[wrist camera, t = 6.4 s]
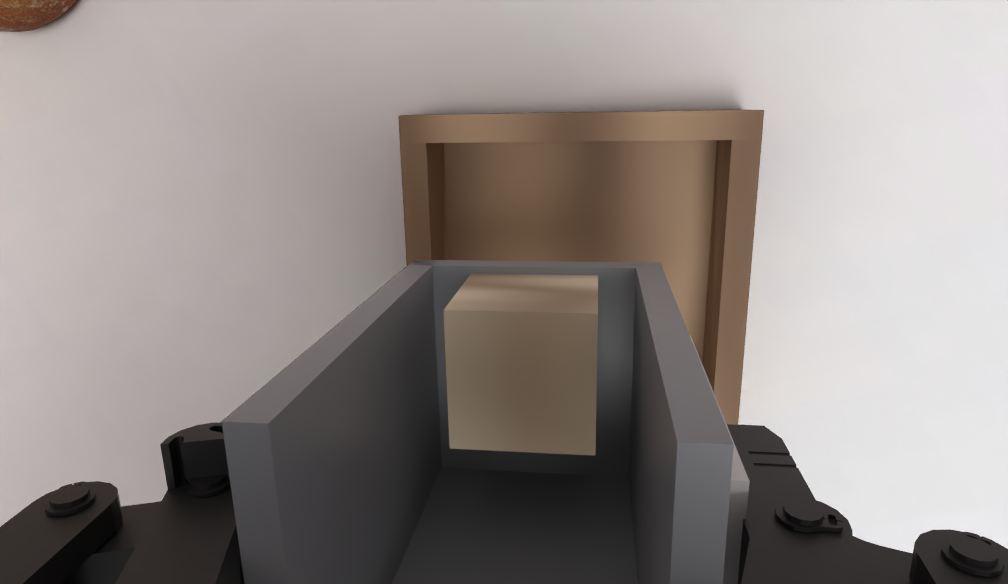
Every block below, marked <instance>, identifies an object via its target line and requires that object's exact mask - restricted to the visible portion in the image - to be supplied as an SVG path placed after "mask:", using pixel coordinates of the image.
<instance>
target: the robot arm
mask: <svg viewBox="0 0 1008 584" xmlns="http://www.w3.org/2000/svg"><path fill="white" fill-rule="evenodd" d="M690 337H691V335H690ZM691 340H692V338H691ZM692 342H693V340H692ZM693 345H694V343H693ZM694 347H695V345H694ZM695 350H696V348H695ZM696 352H697V350H696ZM697 355H698V353H697ZM698 357H699V355H698ZM699 360H700V358H699ZM700 362H701V360H700ZM701 365H702V363H701ZM702 367H703V365H702ZM703 370H704V367H703ZM704 372H705V370H704ZM705 375H706V372H705ZM706 377H707V375H706ZM707 380H708V377H707ZM708 382H709V380H708ZM709 385H710V382H709ZM710 387H711V385H710ZM711 390H712V387H711ZM712 392H713V390H712ZM713 395H714V392H713ZM714 397H715V395H714ZM715 400H716V397H715ZM716 402H717V400H716ZM717 405H718V402H717ZM718 407H719V405H718ZM719 410H720V412H721V409H720V407H719ZM721 414H722V412H721ZM722 417H723V414H722ZM723 419H724V417H723ZM724 422H725V419H724ZM725 424H726V422H725ZM726 427H727V429H728V432H729V434H730V437H731V439H732V442H733V444H734V448H733V460H732V473H731V486H730V498H729V511H728V524H727V536H726V549H725V562H724V575H723V584H1008V549H1007V548H1005V547H1003V546H1001V545H999V544H998V543H996V542H994V541H992V540H990V539H988V538H985V537H983V536H982V537H980V536H979V535H977V534H973V533H969V532H960V531H955V530H931V531H929V532H926V533H923V534H920V536H919V537H918V539H917V540H916V542H915V545H914V551H913V554H912V553H908V552H903V551H899V550H895V549H891V548H887V547H883V546H879V545H876V544H872V543H869V542H866V541H863V540H861V539H858V538H856V537H854V536H852V529H851V526H850V524H849V522H848V520H847V519H846V518H845V517H844V516H843V515H842V514H841V513H840V512H838V511H837V510H836V509H834V508H832V507H830V506H828V505H826V504H824V503H822V502H819V501H816V500H815V498H814V496H813V494H812V493H811V491H810V489H809V487H808V485H807V484H806V482H805V480H804V478H803V476H802V475H801V473H800V471H799V469H798V468H796V464H795V462H794V460H793V458H792V456H790V453H789V451H788V449H787V447H786V446H785V444H784V442H783V440H782V439H781V438H780V437H779V436H777V435H776V434H774V433H773V432H772V431H770V430H769V429H767V428H766V427H765V426H755V425H731V424H726ZM161 451H162V456H163V462H164V468H165V474H166V480H167V486H168V491H167V492H166V494H165V496H164V498H163V500H162V501H161V502H155V503H147V504H139V505H131V506H123V507H121V506H120V501H119V496H118V490H117V488H116V487H115V486H113V485H112V484H110V483H105V482H98V481H97V482H78V483H74V485H72V484H69V485H66V486H63V487H61V488H59V489H58V490H55V491H53V492H50V493H48V494H46V495H44V496H42V497H41V498H39V499H37V500H36V501H34V502H32V503H31V504H30V505H29V506H27V507H26V508H25V509H23V510H22V511H21V512H19V513H18V514H17V515H15V516H14V517H13V518H11V519H10V520H9V521H8V522H6V523H5V524H4V525H2V526H1V527H0V584H245V583H244V576H243V569H242V562H241V555H240V548H239V541H238V534H237V527H236V520H235V513H234V506H233V499H232V492H231V485H230V478H229V471H228V464H227V456H226V449H225V442H224V435H223V428H222V423H209V424H203V425H197V426H194V427H190V428H187V429H184V430H181V431H179V432H177V433H175V434H173V435H171V436H170V437H168V438H167V439H166V440H165V441H164V442H163V443H162V444H161Z"/></svg>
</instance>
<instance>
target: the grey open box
mask: <svg viewBox="0 0 1008 584" xmlns="http://www.w3.org/2000/svg"><path fill="white" fill-rule="evenodd" d="M470 274H526V275H598V346H597V399H596V452H595V456H593V455H572V454H552V453H531V452H511V451H491V450H470V449H450V446H449V423H448V401H447V378H446V356H445V333H444V311H443V310H444V309H445V308H446V306H447V305H448V304H449V302H450V301H451V300H452V298H453V297H454V296H455V294H456V293H457V292H458V290H459V289H460V288H461V286H462V285H463V284H464V282H465V281H466V280H467V278H468V277H469V276H470ZM222 428H223V435H224V442H225V449H226V456H227V464H228V471H229V478H230V485H231V492H232V499H233V506H234V513H235V520H236V527H237V534H238V541H239V548H240V555H241V562H242V569H243V576H244V583H245V584H723V575H724V562H725V549H726V536H727V524H728V511H729V498H730V486H731V473H732V460H733V448H734V444H733V442H732V439H731V437H730V434H729V432H728V429H727V427H726V424H725V422H724V419H723V417H722V414H721V412H720V410H719V407H718V405H717V402H716V400H715V397H714V395H713V392H712V390H711V387H710V385H709V382H708V380H707V377H706V375H705V372H704V370H703V367H702V365H701V362H700V360H699V357H698V355H697V352H696V350H695V347H694V345H693V342H692V340H691V337H690V335H689V333H688V330H687V328H686V325H685V323H684V320H683V318H682V315H681V313H680V310H679V308H678V305H677V303H676V300H675V298H674V295H673V293H672V290H671V288H670V285H669V283H668V280H667V278H666V275H665V273H664V270H663V268H662V265H661V263H660V262H570V261H479V260H414V261H412V262H411V263H410V264H409V265H408V266H406V267H405V268H404V269H403V270H402V271H400V272H399V273H398V274H397V275H396V276H394V277H393V278H392V279H391V280H390V281H388V282H387V283H386V284H385V285H384V286H383V287H381V288H380V289H379V290H378V291H377V292H375V293H374V294H373V295H372V296H371V297H369V298H368V299H367V300H366V301H365V302H363V303H362V304H361V305H360V306H359V307H357V308H356V309H355V310H354V311H353V312H352V313H350V314H349V315H348V316H347V317H346V318H344V319H343V320H342V321H341V322H340V323H338V324H337V325H336V326H335V327H334V328H332V329H331V330H330V331H329V332H328V333H326V334H325V335H324V336H323V337H322V338H321V339H319V340H318V341H317V342H316V343H315V344H313V345H312V346H311V347H310V348H309V349H307V350H306V351H305V352H304V353H303V354H301V355H300V356H299V357H298V358H297V359H295V360H294V361H293V362H292V363H291V364H289V365H288V366H287V367H286V368H285V369H284V370H282V371H281V372H280V373H279V374H278V375H276V376H275V377H274V378H273V379H272V380H270V381H269V382H268V383H267V384H266V385H264V386H263V387H262V388H261V389H260V390H258V391H257V392H256V393H255V394H254V395H253V396H251V397H250V398H249V399H248V400H247V401H245V402H244V403H243V404H242V405H241V406H239V407H238V408H237V409H236V410H235V411H233V412H232V413H231V414H230V415H229V416H227V417H226V418H225V419H224V420H223V421H222Z"/></svg>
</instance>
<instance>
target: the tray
mask: <svg viewBox="0 0 1008 584" xmlns="http://www.w3.org/2000/svg"><path fill="white" fill-rule="evenodd" d="M763 117H764V110H689V111H624V112H560V113H495V114H430V115H402V116H399V133H400V151H401V169H402V187H403V205H404V223H405V242H406V260H407V266H408V265H409V264H410V263H411V262H412V261H414V260H479V261H570V262H660V263H661V265H662V268H663V270H664V273H665V275H666V278H667V280H668V283H669V285H670V288H671V290H672V293H673V295H674V298H675V300H676V303H677V305H678V308H679V310H680V313H681V315H682V318H683V320H684V323H685V325H686V328H687V330H688V333H689V335H691V338H692V340H693V343H694V345H695V348H696V350H697V353H698V355H699V358H700V360H701V363H702V365H703V367H704V370H705V372H706V375H707V377H708V380H709V382H710V385H711V387H712V390H713V392H714V395H715V397H716V400H717V402H718V405H719V407H720V409H721V412H722V414H723V417H724V419H725V422H726V424H731V425H738V418H739V406H740V394H741V382H742V370H743V358H744V346H745V334H746V322H747V310H748V298H749V285H750V273H751V261H752V249H753V237H754V225H755V213H756V201H757V189H758V177H759V165H760V153H761V141H762V129H763Z"/></svg>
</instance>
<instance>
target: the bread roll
mask: <svg viewBox="0 0 1008 584" xmlns="http://www.w3.org/2000/svg"><path fill="white" fill-rule="evenodd" d="M76 1H77V0H0V31H5V32H20V31H29V30H34V29H37V28H39V27H42V26H44V25H46V24H48V23H50V22H51V21H53V20H55V19H57V18H59V17H60V16H61V15H62V14H63V13H65V12H66V11H67V10H68V9H69V8H70V7H71V6H72V5H73V4H74V3H75V2H76Z"/></svg>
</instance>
